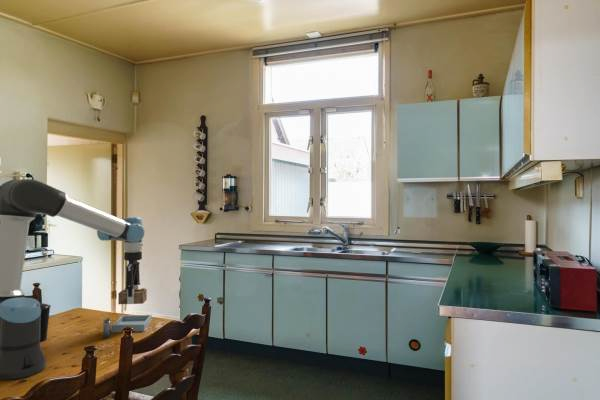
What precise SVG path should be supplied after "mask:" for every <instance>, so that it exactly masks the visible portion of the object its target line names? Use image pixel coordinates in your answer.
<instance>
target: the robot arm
mask: <svg viewBox="0 0 600 400" xmlns="http://www.w3.org/2000/svg"><path fill="white" fill-rule="evenodd" d="M36 214H41V215H46V216H48V217H52V218H55V217H59V218H63V219H66V220H69V221H71V222H74V223H77V224H80V225H82V226H83V227H84V226H85V227H87V228H90V229H93V230H96V235H97V237H98V239H99V240H100V241H104V242H105V241H106V242H107V241H118V242H123V250H124V253H123V259H124V261H128V264H127V266H126V267H125V269H126V271H125V272H126V273H125V274H126V275H125V277H126V278H125V288H124V290H127V304H126V305H135V304H134V289H139V286H140V285H141V282H140V281H141V280H140V278H141V277H140V262H139V261H140V260H142V258H143V252H142V250H143V249H142V248H143V246H144V243H143V239H144V236H145V228H144V227H143V220H142V217H136V216H131V217H130V216H129V217H124V219H122V218H119V217H118V216H115V215H113V214H110V213H107V212H105V211H103V210H100V209H98V208H95V207H94V206H91V205H88V204H86V203H84V202H80V201H79V200H76V199H74V198H71V197H69V196H68V195H67V193H66V192H65V191H62V190H60V189H57V188H56V187H54V186H52V185H48V184H47V183H44V182H42V181H39V180H36V179H30V178H29V179H28V178H27V179H10V180H9V181H5V182H3V183H1V184H0V381H8V380H17V379H22V378H27V377H30V376H33V375H36V374H38V373H41V372H42V371H43V370H45V368H46V366H47V359H46V356H45V354H44V351H43V349H42V346H41V342H40V317H41V309H40V303H39V300H37V299H36V298H33V297H25V296H26V293H25V291H23V290H22V287H21V285H22V281H23V280H22V279H23V272H24V266H25V265H24V264H25V258H26V249H27V243H28V242H27V241H28V235H29V229H30V223H31V222H32V221H33V220H35V219H36Z"/></svg>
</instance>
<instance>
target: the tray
mask: <svg viewBox="0 0 600 400" xmlns="http://www.w3.org/2000/svg"><path fill="white" fill-rule="evenodd" d="M152 320H153V316H152V314H136V315H135V314H134V315H131V314H130V315H121V316H120V317H118V319H117V320H116V321H115V322H113V324H112V325H111V333H123V332H122V330H123V328H126V327H131V328H133V331H135V332H136V333H137V332H145V331H146V329H148V327H149V326H150V324H151V323H152ZM150 322H151V323H150Z"/></svg>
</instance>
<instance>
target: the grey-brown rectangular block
mask: <svg viewBox="0 0 600 400" xmlns="http://www.w3.org/2000/svg"><path fill="white" fill-rule="evenodd" d="M147 293H148V292H147V288H146V287H144V288H143V287H142V288H138V289H134V304H133V305H138V304H140V305H142V304H144V303H145V302H146V301H147V300H148V298H147V295H148V294H147ZM117 299H118V305H128V304H127V290H125V289H122V290H121V291H119V292H118V298H117Z"/></svg>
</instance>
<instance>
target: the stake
mask: <svg viewBox="0 0 600 400" xmlns="http://www.w3.org/2000/svg"><path fill="white" fill-rule="evenodd" d="M102 322H103V323H102V333H103V334H102V339H104V340H108V339H111V338H112V337H111V336H112V335H111V334H112V332H111V322H112V321H111V319H110V317H109V316H108V317H105V318H104V319H103V321H102Z"/></svg>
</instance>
